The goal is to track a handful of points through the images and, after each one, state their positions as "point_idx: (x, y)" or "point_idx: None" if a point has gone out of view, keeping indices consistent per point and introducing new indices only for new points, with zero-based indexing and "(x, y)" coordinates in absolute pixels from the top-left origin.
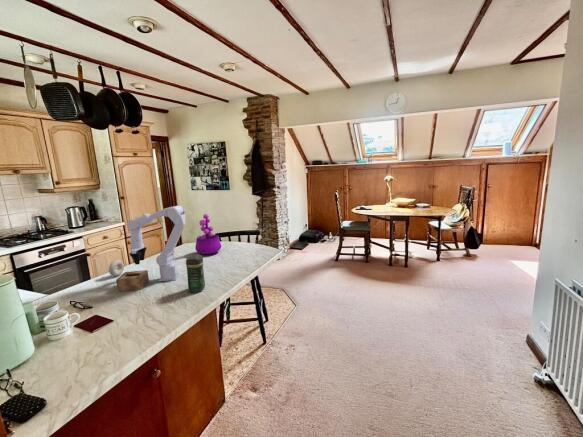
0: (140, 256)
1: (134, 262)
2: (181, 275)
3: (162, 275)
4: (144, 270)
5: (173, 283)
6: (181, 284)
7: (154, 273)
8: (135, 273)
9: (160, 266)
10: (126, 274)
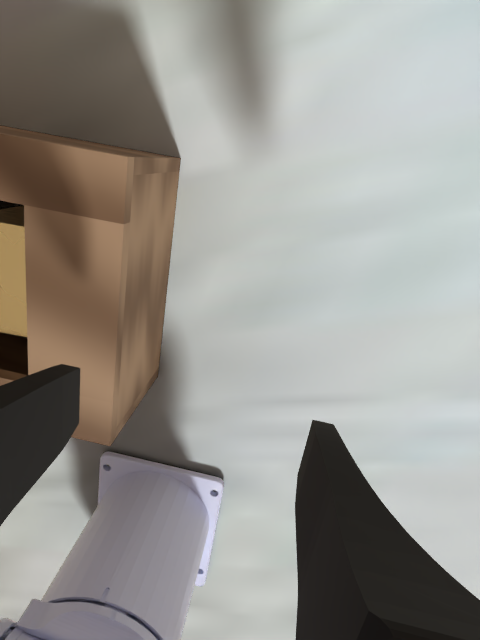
0: (314, 493)
1: (29, 376)
2: (197, 593)
3: (90, 518)
4: (107, 414)
5: (41, 535)
6: (10, 572)
7: (369, 414)
8: (28, 318)
9: (44, 601)
10: (11, 202)
